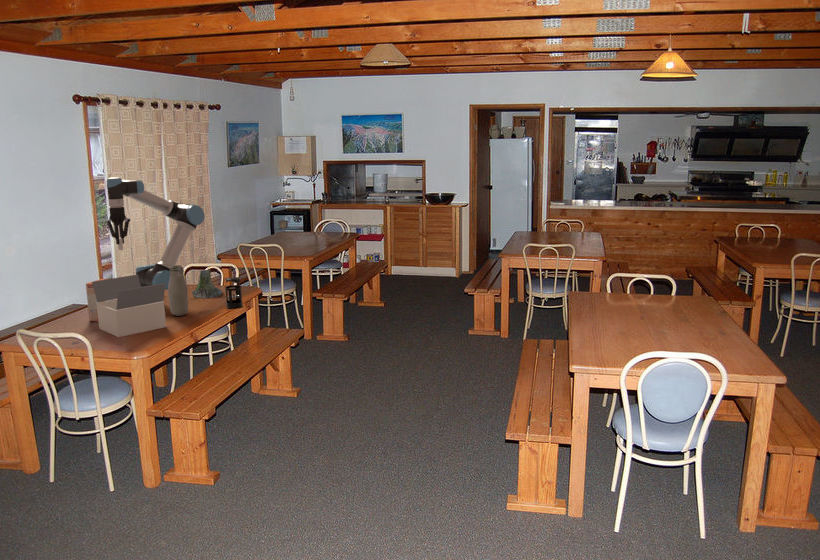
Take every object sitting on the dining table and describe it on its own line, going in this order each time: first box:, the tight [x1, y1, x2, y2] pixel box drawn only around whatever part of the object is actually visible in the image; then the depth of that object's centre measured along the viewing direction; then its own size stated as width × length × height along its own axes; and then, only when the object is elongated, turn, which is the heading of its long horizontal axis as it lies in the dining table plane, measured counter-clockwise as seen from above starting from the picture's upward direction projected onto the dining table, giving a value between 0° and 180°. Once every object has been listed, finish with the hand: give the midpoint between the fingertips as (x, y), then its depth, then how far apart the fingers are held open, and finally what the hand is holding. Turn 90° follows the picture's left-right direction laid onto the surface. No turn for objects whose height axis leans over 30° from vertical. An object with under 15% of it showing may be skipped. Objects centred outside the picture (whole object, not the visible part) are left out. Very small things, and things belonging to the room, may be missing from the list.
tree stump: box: [191, 269, 223, 299], centre depth 429 cm, size 18×20×18 cm
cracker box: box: [85, 278, 114, 323], centre depth 374 cm, size 14×6×21 cm, turn 168°
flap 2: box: [116, 283, 166, 310], centre depth 344 cm, size 24×11×1 cm
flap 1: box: [91, 274, 141, 302], centre depth 362 cm, size 24×11×1 cm
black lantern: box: [224, 267, 244, 310], centre depth 396 cm, size 12×9×23 cm
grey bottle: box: [167, 264, 189, 317], centre depth 378 cm, size 10×10×28 cm
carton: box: [97, 299, 167, 338], centre depth 355 cm, size 25×23×14 cm
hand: (120, 249), depth 376 cm, fingers closed
